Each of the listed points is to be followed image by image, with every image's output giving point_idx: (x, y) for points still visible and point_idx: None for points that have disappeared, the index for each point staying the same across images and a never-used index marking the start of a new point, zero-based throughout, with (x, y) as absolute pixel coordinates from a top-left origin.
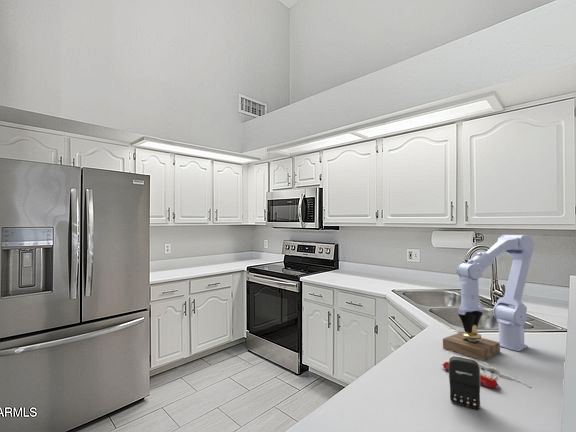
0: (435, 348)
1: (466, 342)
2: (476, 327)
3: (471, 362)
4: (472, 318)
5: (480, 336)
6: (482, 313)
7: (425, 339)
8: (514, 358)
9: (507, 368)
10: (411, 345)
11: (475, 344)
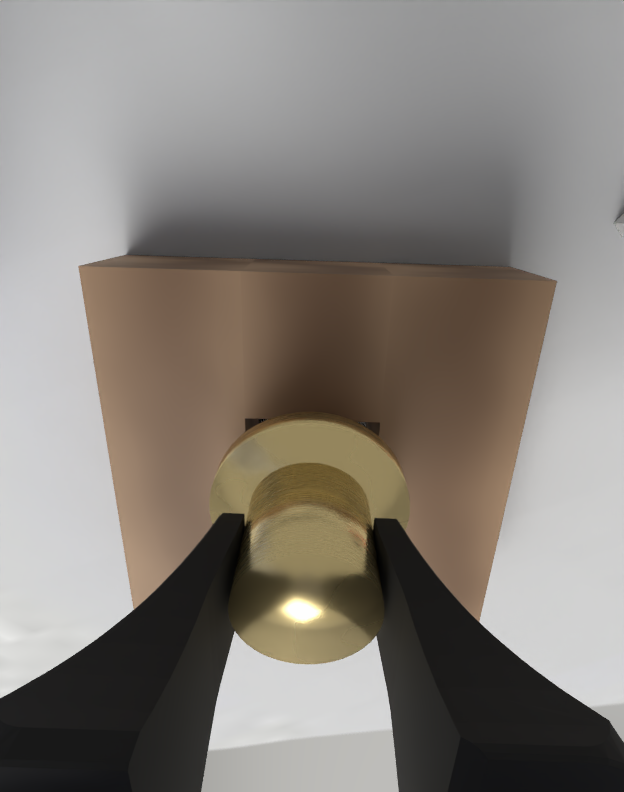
0: (504, 592)
1: (413, 481)
2: (296, 532)
3: None
4: (575, 704)
5: (309, 423)
6: (9, 731)
7: (367, 692)
8: (176, 89)
9: (548, 33)
10: (570, 690)
11: (403, 407)
